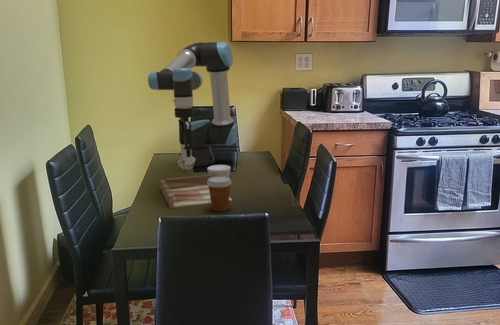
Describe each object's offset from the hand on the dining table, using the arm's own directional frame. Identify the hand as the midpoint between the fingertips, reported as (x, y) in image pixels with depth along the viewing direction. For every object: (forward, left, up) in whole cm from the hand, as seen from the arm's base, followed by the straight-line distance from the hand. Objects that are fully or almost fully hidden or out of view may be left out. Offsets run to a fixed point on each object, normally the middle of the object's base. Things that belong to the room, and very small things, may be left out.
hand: (186, 161), depth 188 cm
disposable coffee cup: (+18, +9, -16) cm, 26 cm away
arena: (-1, +3, -15) cm, 16 cm away
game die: (0, 0, -4) cm, 4 cm away
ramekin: (-24, +20, -16) cm, 35 cm away
